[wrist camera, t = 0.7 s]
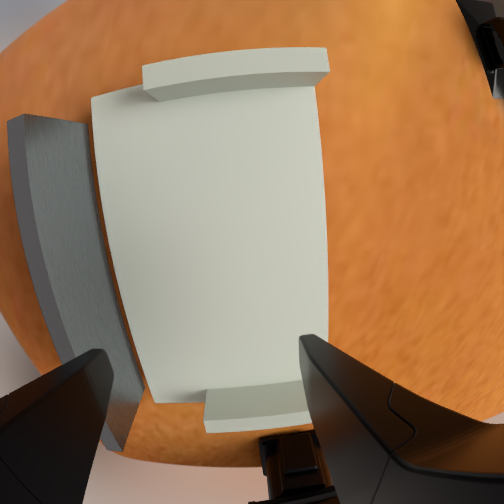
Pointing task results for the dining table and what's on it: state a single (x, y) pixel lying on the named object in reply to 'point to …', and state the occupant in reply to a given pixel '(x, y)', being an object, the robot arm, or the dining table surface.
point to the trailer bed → (219, 228)
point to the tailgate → (71, 255)
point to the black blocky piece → (487, 40)
